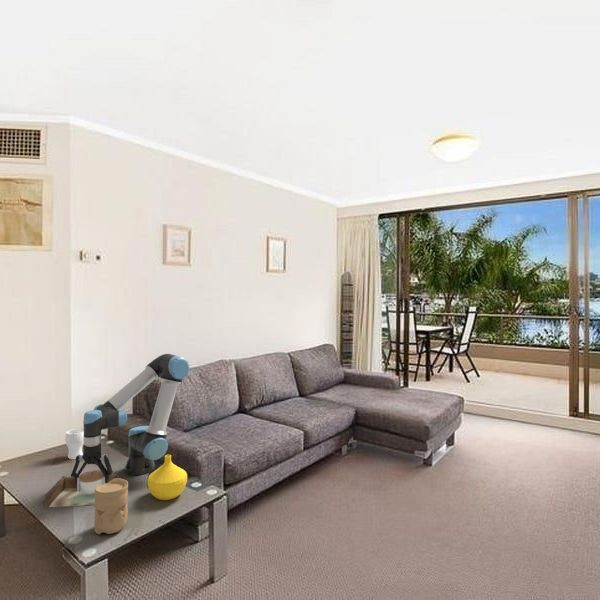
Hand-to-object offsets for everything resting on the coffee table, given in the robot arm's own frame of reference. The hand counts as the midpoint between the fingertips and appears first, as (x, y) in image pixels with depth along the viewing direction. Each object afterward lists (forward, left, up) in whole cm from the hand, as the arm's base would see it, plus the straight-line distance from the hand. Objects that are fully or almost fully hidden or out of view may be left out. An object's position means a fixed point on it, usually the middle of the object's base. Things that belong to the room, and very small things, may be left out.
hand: (91, 490), depth 198 cm
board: (+4, -1, -3) cm, 5 cm away
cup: (+26, -50, -3) cm, 56 cm away
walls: (+4, -1, -3) cm, 5 cm away
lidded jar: (0, 0, -1) cm, 1 cm away
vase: (-35, +2, -3) cm, 35 cm away
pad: (0, 0, -3) cm, 3 cm away
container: (-17, +28, -3) cm, 33 cm away
